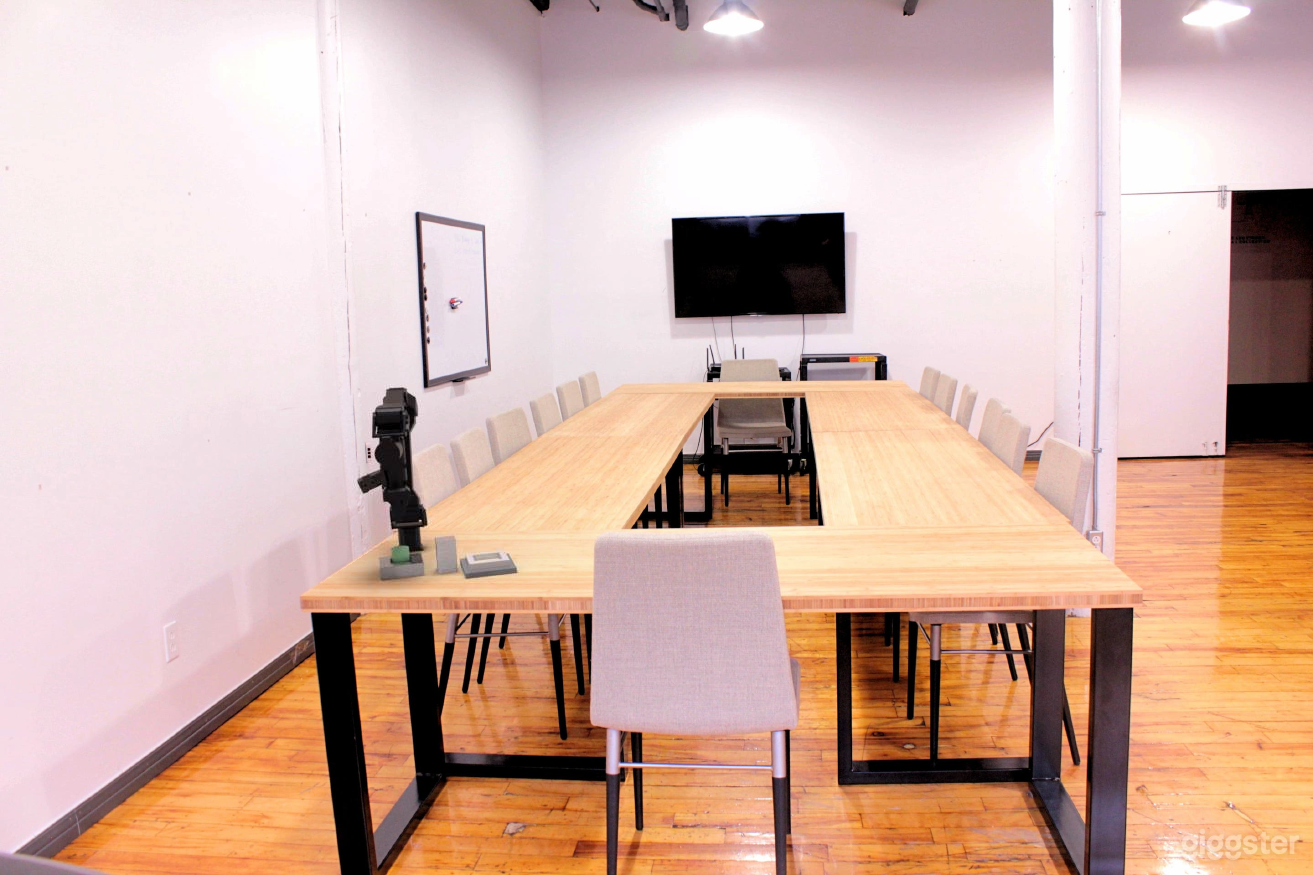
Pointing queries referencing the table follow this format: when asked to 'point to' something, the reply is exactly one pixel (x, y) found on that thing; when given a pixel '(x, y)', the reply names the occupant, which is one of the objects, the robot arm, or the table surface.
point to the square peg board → (401, 567)
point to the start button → (400, 554)
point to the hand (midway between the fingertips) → (398, 523)
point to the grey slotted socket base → (487, 564)
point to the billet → (446, 554)
